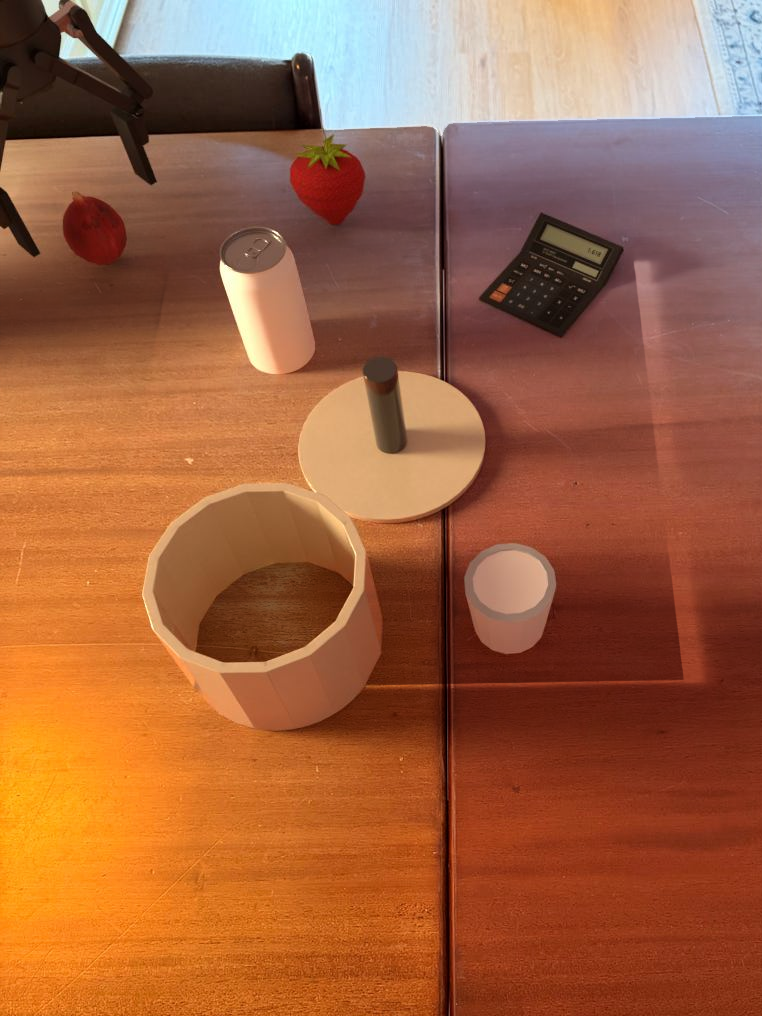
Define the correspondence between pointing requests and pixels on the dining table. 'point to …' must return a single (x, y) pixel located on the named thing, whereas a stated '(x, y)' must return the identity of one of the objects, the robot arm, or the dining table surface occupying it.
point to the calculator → (554, 275)
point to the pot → (242, 549)
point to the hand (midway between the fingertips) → (89, 212)
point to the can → (267, 299)
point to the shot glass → (509, 596)
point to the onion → (94, 230)
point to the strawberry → (328, 180)
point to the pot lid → (392, 444)
